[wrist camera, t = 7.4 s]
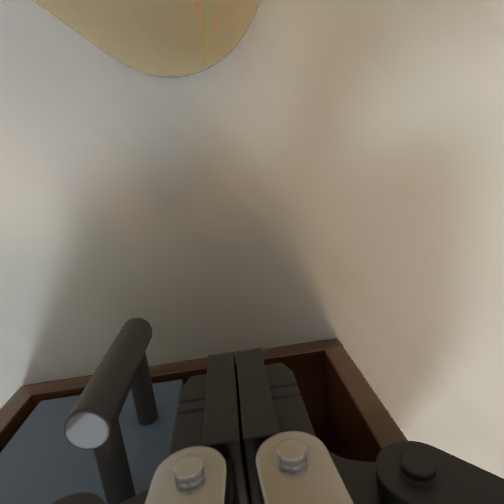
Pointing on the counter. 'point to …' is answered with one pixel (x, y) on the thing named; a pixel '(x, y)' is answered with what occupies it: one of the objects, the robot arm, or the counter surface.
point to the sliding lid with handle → (96, 432)
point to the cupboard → (308, 380)
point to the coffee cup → (158, 30)
